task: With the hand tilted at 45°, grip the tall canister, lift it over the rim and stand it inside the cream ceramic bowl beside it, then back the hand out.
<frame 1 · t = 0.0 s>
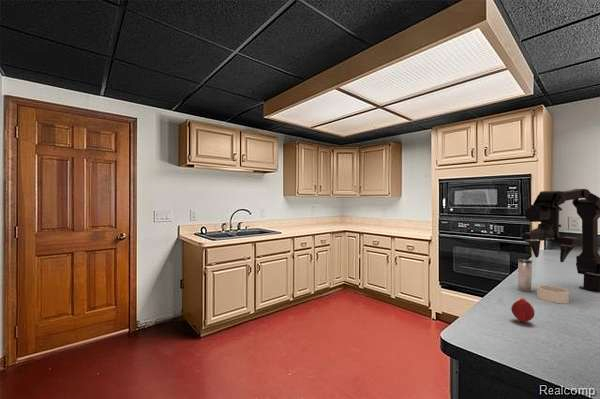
hand: (548, 259, 119), 15 cm above the counter, tool pointing down, fingers open, 9 cm apart
canister: (524, 290, 126), on the counter
bowl: (552, 299, 115), on the counter
onion: (522, 323, 92), on the counter
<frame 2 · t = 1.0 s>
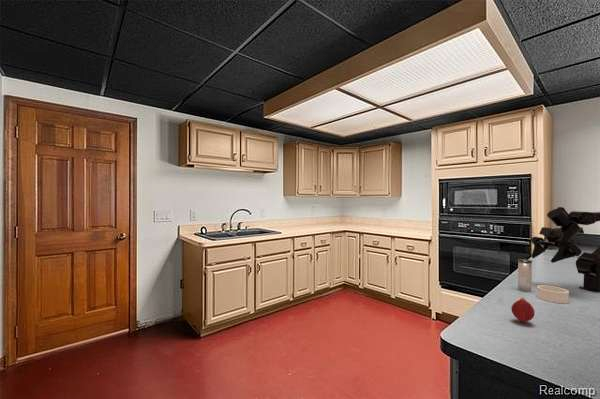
hand: (541, 259, 126), 13 cm above the counter, tool tilted 45°, fingers open, 9 cm apart
nothing on the counter moved.
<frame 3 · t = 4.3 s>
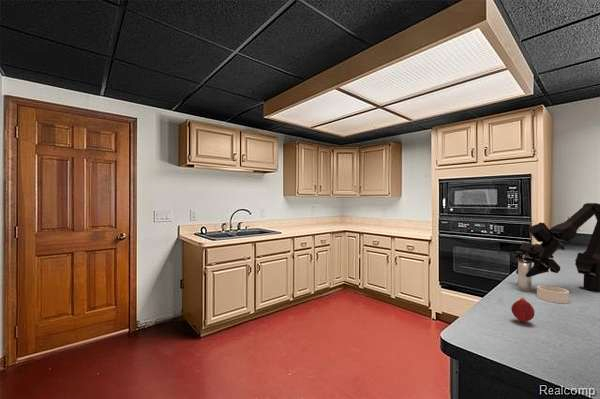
hand: (521, 275, 125), 7 cm above the counter, tool tilted 45°, fingers closed on canister, 5 cm apart
canister: (524, 290, 126), on the counter, touching gripper
everything else where it was.
when the fingers open (9 cm above the counter, at t = 8.4 s): canister drops 1 cm, resting on bowl.
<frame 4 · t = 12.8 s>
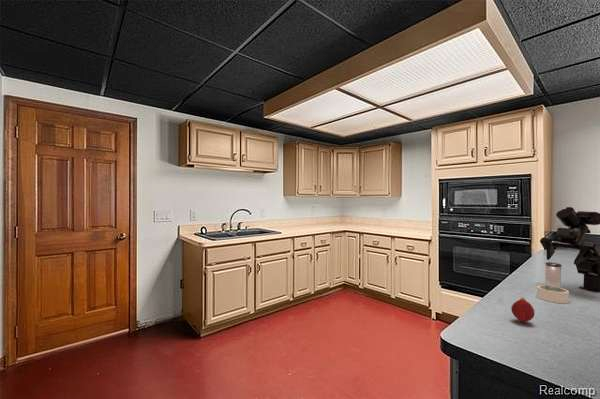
hand: (560, 261, 121), 14 cm above the counter, tool tilted 45°, fingers open, 9 cm apart
canister: (552, 296, 115), point 1 cm above the counter, touching bowl
everything else where it was.
at the end: canister 0.1 cm off-centre on the bowl, point 1.0 cm above the bowl's base; canister tilted 0°; the gripper is holding nothing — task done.
